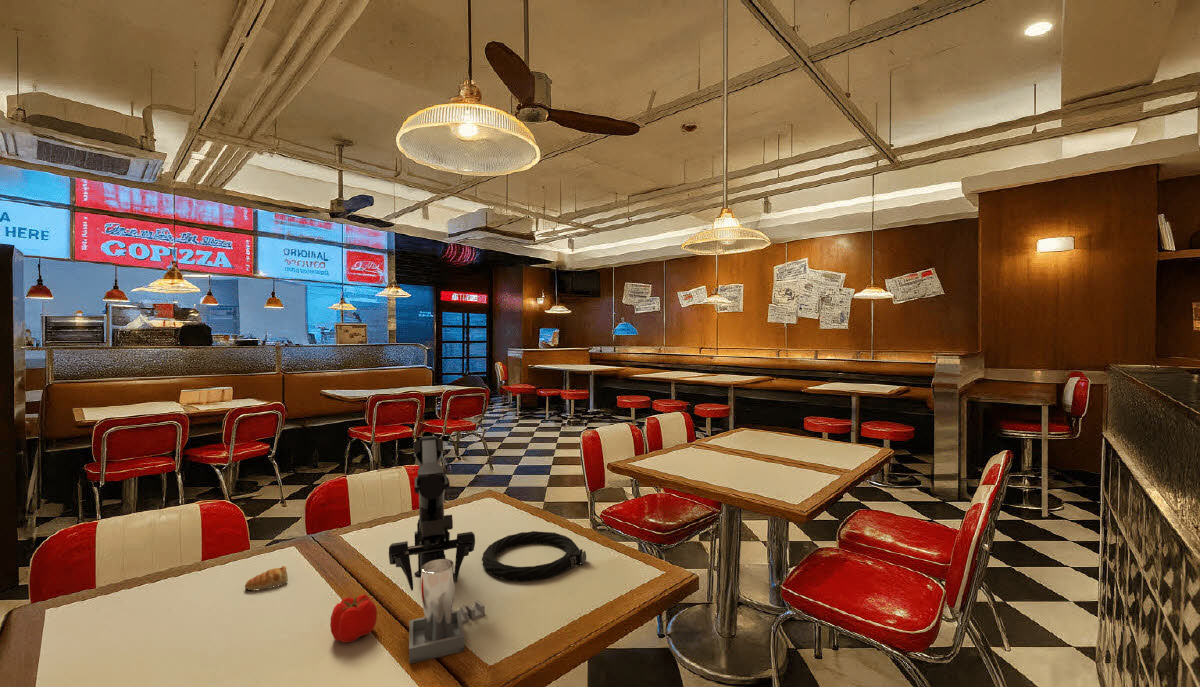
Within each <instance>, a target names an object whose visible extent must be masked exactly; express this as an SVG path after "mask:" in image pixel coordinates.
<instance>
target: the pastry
mask: <svg viewBox="0 0 1200 687" xmlns="http://www.w3.org/2000/svg"><path fill="white" fill-rule="evenodd" d="M287 581H289V577H288V571H287V566H285V565H282V566H281V567H277V568H276V567H275V568H270V569H268V570H266V571H264V572H261V574H257V575H255V576H254V577H252V578H250V579H249V580H248V581H246V582H245V584H244V589H245V590H246V589H248V590H254V589H265V588H268V589H270V588H269V587H273V586H277V587H279V586H278V585H281V584H284V585H286V584H287V583H288V582H287ZM286 582H287V583H286ZM285 583H286V584H285ZM281 586H282V585H281ZM273 588H274V587H273ZM248 590H247V591H248ZM265 590H266V589H265Z"/></svg>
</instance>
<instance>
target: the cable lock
mask: <svg viewBox="0 0 1200 687" xmlns="http://www.w3.org/2000/svg"><path fill="white" fill-rule="evenodd" d="M529 544H548V545H552V546H556V547H559V548H561V549H562V550H563V551H565V554H563V556H562V557H560V558H557V559H556V560H554V561H552V562H548V563H543V564H539V565H533V566H531V565H529V566H528V565H527V566H517V565H516V566H515V565H509V564H505V563H502V562H500V561H498V560H497V559H496V557H497V555H499V554H500V553H502V552H504V551H505V550H507V549H510V548H515V547H516V546H521V545H529ZM481 561H482V566H483V568H484V569H485V571H486V572H488V573H489V574H491V575H492V576H493V577H495V578H500V579H503V580H507V581H514V582H515V581H518V582H528V581H529V582H530V581H531V582H532V581H538V580H539V579H540V580H544V579H548V578H551V577H555V576H558V575H560V574H562V573H564V572H566V571H567V570H569V569H570V570H571V569H574V568H575V567H576V565H577V567H580V566H581V565H582V564H583V565H582V566H584V565H586V561H587V553H586V551H585V550H584V551H583V548H581V549H580V548H579V546H578V545H577V543H575V542H574V540H572V539H571V538H570V537H568V536H566V535H562V534H560V533H557V532H551V531H550V532H549V531H538V530H537V531H535V530H532V531H528V532H527V531H526V532H525V531H524V532H522V531H521V532H517V533H515V534H509V535H507V536H504V537H502V538H500V539H497V540H495V541H494V542H492V543H491V544H490V545H488V546H487V548H486V549H485V550H484V552H483V553H482V556H481ZM580 563H582V564H580Z"/></svg>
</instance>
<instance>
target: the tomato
mask: <svg viewBox="0 0 1200 687" xmlns="http://www.w3.org/2000/svg"><path fill="white" fill-rule="evenodd" d="M377 615H378V611H377V605H376V604H375V602H373V600H372V601H371V599H370V597H369V596H368V595H367V594H360V595H359V596H357V595H356V596H355V598H354V597H351V596H350V597H345V598H342V599H341V601H339V603H338V602H337V603H336V604H335V606H334V607H333V610H332V613H331V615H330V632H331V635H332V637H333V639H334V640H335V641H336V642H342V643H344V644H345V643H352V642H354V641H356V640H357V639H358V638H359V637H364V636H367V635H369V634H370V633H371V632H372V631H373V629H374V628H375V626H376V623H377Z"/></svg>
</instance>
